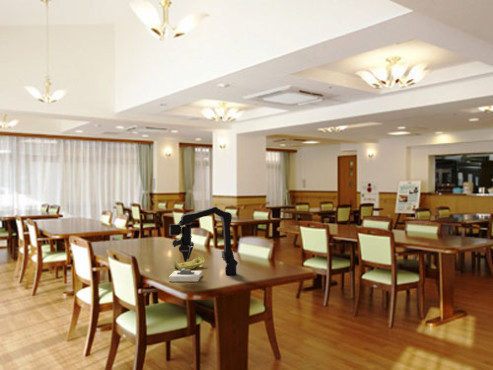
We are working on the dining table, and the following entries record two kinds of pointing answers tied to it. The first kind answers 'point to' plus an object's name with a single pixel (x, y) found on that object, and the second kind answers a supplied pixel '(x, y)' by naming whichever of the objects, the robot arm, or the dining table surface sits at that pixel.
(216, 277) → the dining table surface
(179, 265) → the plastic component
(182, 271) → the servo
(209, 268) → the dining table surface
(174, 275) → the white square base plate
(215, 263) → the dining table surface
